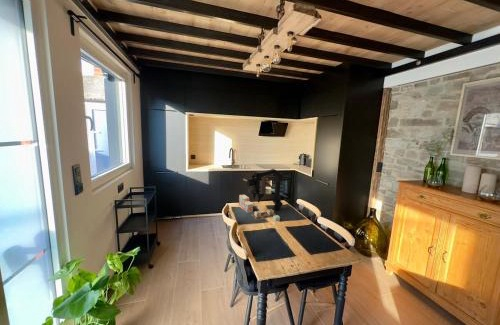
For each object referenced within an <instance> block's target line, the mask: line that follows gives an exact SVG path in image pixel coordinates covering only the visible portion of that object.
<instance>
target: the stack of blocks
mask: <svg viewBox="0 0 500 325" xmlns="http://www.w3.org/2000/svg"><path fill="white" fill-rule="evenodd" d="M238 201H239V202H238V206H239V207H240V208H241V209H242V210H244V212H246V213H248V214H249V213H254V212H253V210H254V208H253V207H254V203H253V202H251V201H250V197H249V196H247V195H246V194H239V197H238Z"/></svg>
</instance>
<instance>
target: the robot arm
mask: <svg viewBox="0 0 500 325" xmlns="http://www.w3.org/2000/svg"><path fill="white" fill-rule="evenodd" d="M269 175H273V177H274V181H275V185H274V187H275V188H274V195H273V196H272V198H271V201H272V203H273V204H274V206H273V211H274V212H275V211H277V212H279V211H281V210H282V207H283V202H282V198H281V195H280V194H281V182H282V181H283V179H284V175H283V174H282V173H281V172H279V171H277V170H276V169H274V168H272V169H268V170H262V171H259V170H258V171H254V172H253V175H252V176H251V178H247V180H246V182H245V183H246V184H245V185H246V186H247V187H251V188H248V189H247V191H248V194H249V195H252V199H253V200H255V199H256V197H257V203H258V204H260V201H261V200H262V198H263V197H265V193H263V192H262V191H261V188H262V186H261V181H263V179H262V178H264V177H266V176H269Z"/></svg>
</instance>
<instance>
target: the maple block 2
mask: <svg viewBox="0 0 500 325" xmlns="http://www.w3.org/2000/svg"><path fill="white" fill-rule="evenodd" d="M266 212H267V213H268V214H269V215H271V214H274V213H275V210H274V209H272V208H269V209H266Z"/></svg>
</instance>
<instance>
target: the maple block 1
mask: <svg viewBox="0 0 500 325" xmlns="http://www.w3.org/2000/svg"><path fill="white" fill-rule="evenodd" d="M261 213H262V211H260V210H257V211H256V210H255V211H254V212H253V214H254V215H255V216H256V217H259V216H261Z"/></svg>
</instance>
